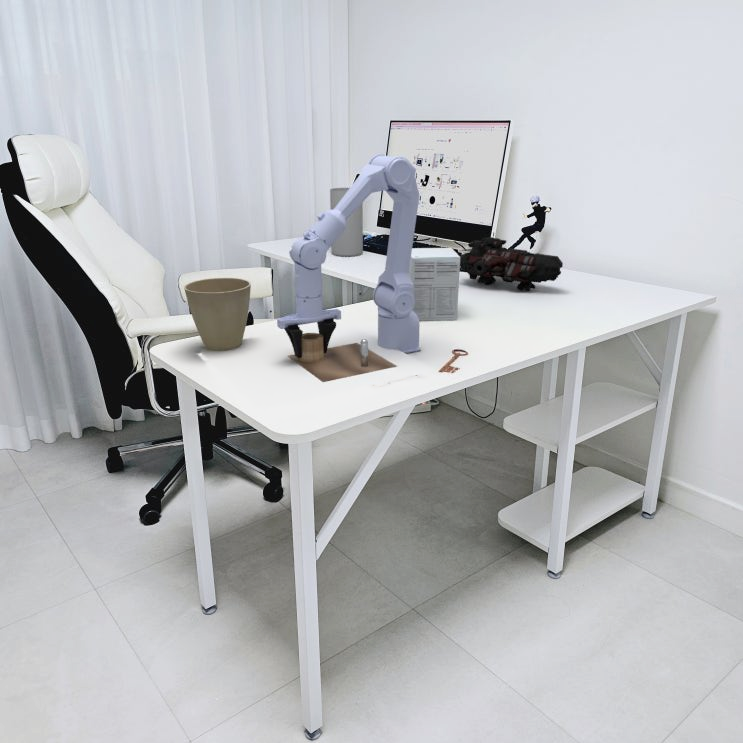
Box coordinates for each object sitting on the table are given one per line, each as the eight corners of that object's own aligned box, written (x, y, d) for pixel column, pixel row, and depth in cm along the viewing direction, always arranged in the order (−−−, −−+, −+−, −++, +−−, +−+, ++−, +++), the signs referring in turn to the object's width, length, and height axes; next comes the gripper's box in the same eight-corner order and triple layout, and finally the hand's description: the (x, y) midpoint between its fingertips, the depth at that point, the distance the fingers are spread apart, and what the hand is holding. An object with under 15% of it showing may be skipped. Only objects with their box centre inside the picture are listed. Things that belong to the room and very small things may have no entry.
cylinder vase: (350, 258, 255) (350, 191, 246) (325, 254, 261) (323, 189, 252) (368, 253, 265) (368, 188, 256) (343, 249, 271) (342, 187, 262)
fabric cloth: (357, 348, 158) (356, 342, 157) (397, 372, 143) (397, 366, 143) (287, 362, 149) (287, 355, 148) (323, 388, 135) (323, 382, 134)
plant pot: (264, 342, 162) (260, 278, 156) (239, 363, 148) (234, 294, 142) (208, 338, 165) (202, 275, 159) (179, 358, 151) (171, 290, 145)
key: (456, 378, 142) (477, 356, 155) (457, 374, 142) (478, 352, 154) (431, 371, 144) (454, 350, 157) (432, 368, 144) (454, 346, 157)
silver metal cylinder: (365, 363, 144) (365, 337, 142) (369, 365, 143) (369, 339, 140) (359, 364, 143) (359, 338, 141) (363, 367, 142) (362, 340, 140)
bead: (316, 352, 151) (316, 331, 149) (327, 359, 146) (327, 338, 144) (294, 356, 148) (293, 335, 146) (305, 364, 144) (304, 342, 142)
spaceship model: (545, 302, 197) (550, 252, 191) (451, 285, 215) (453, 239, 210) (570, 289, 211) (575, 242, 206) (480, 275, 229) (482, 231, 224)
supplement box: (458, 320, 179) (461, 256, 173) (409, 321, 178) (411, 257, 172) (449, 307, 191) (452, 247, 185) (404, 308, 190) (405, 247, 184)
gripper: (330, 286, 148) (331, 343, 153) (270, 295, 142) (273, 354, 147) (345, 293, 143) (346, 352, 148) (283, 302, 136) (286, 364, 141)
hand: (310, 354), depth 147 cm, fingers closed on bead, 6 cm apart
